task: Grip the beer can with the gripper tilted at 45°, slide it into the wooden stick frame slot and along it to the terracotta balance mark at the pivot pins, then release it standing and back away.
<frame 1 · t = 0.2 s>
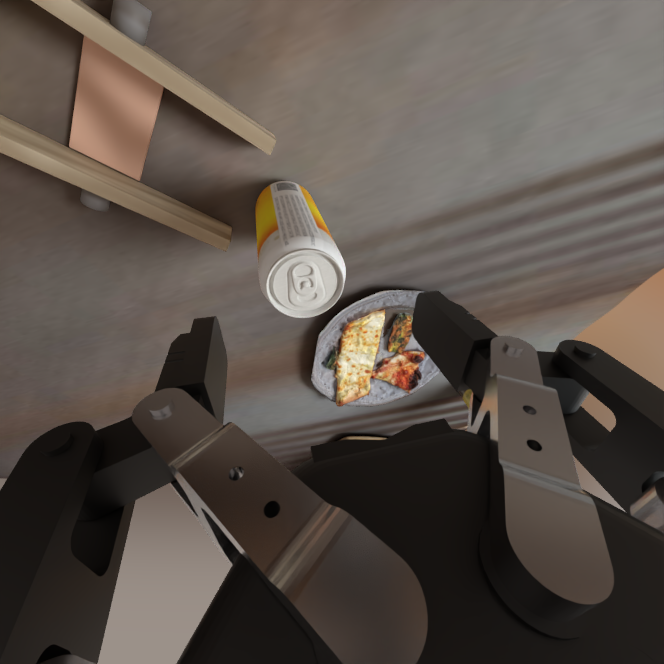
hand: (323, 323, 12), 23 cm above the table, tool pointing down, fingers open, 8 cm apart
food plate: (381, 348, 49), on the table
beer can: (285, 209, 31), on the table
wooden stick frame: (145, 131, 25), on the table
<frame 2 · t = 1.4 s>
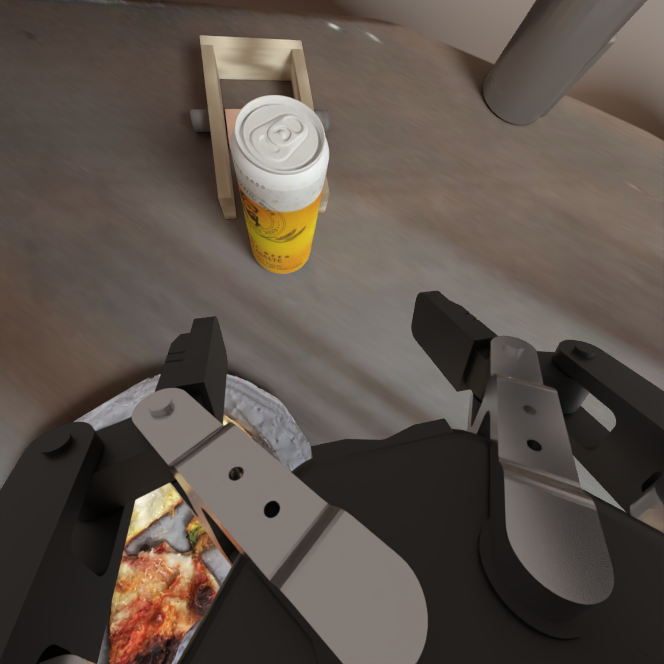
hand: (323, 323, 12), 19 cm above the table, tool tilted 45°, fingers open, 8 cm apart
food plate: (182, 516, 26), on the table
beer can: (281, 250, 32), on the table
wooden stick frame: (265, 144, 34), on the table
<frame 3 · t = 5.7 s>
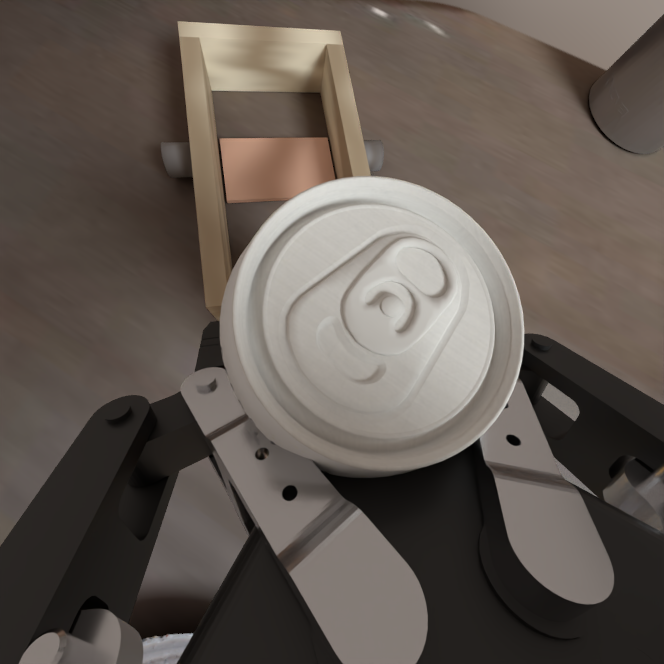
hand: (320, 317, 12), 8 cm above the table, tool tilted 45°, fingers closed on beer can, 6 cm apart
beer can: (310, 370, 20), on the table, touching gripper
wooden stick frame: (283, 194, 22), on the table
when the fingers open (9 cm above the table, at t = 11.0 s): beer can stays where it is, resting on wooden stick frame.
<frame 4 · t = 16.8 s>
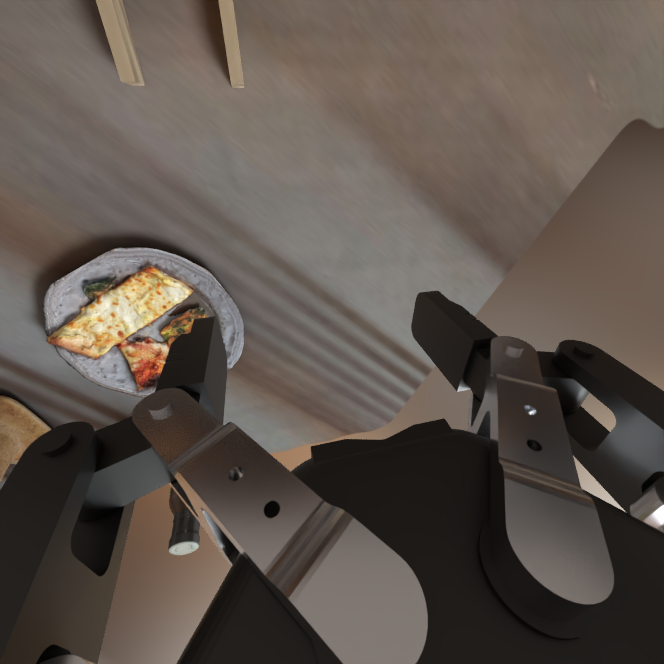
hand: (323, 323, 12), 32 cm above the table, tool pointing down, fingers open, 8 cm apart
stone cup: (12, 424, 48), on the table
sauce bottle: (198, 433, 59), on the table
food plate: (156, 325, 45), on the table
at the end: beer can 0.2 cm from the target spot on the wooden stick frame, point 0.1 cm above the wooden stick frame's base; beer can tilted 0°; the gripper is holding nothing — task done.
